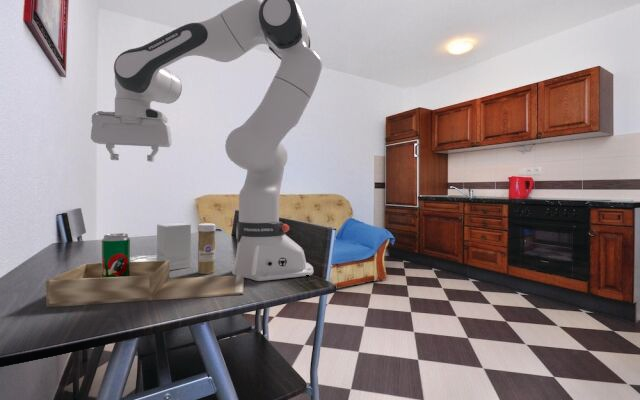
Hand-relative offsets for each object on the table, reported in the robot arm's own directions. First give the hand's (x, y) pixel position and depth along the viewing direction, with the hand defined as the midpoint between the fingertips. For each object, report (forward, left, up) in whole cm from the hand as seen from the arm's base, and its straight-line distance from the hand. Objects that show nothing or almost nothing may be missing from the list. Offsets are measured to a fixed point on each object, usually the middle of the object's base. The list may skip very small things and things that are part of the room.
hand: (132, 160), depth 87 cm
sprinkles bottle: (-22, +12, -31) cm, 40 cm away
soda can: (-5, +25, -31) cm, 40 cm away
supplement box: (-12, +4, -31) cm, 34 cm away
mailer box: (-14, +25, -31) cm, 42 cm away
